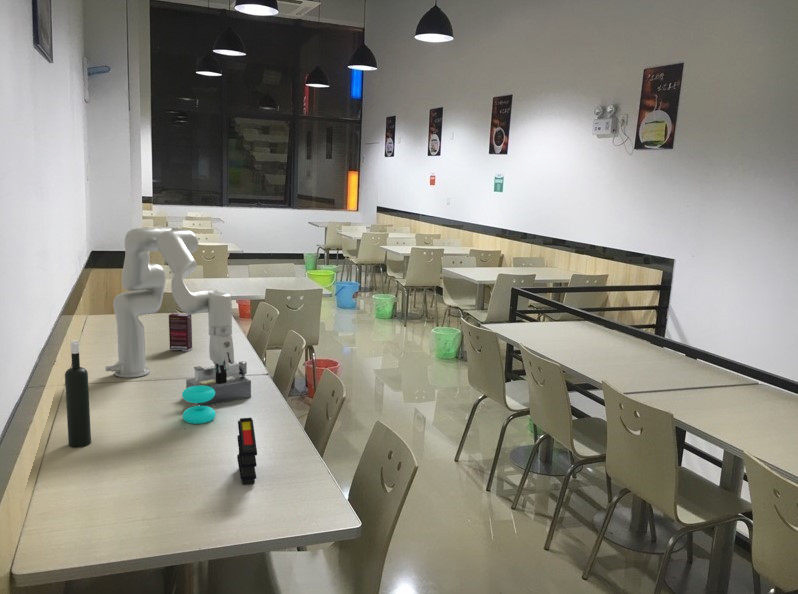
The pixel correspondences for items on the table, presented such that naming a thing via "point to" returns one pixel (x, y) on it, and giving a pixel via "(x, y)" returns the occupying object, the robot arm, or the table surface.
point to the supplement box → (180, 331)
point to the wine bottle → (77, 401)
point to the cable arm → (210, 372)
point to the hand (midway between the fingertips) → (221, 383)
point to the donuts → (198, 412)
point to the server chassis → (225, 389)
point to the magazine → (247, 451)
